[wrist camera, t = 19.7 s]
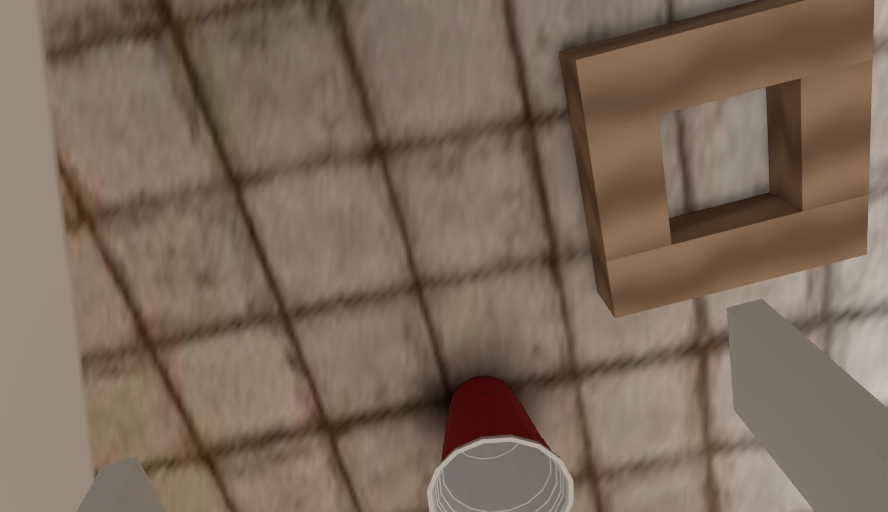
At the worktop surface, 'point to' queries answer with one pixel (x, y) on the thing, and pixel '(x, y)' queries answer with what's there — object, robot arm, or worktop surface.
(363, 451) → the worktop surface
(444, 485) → the plastic cup
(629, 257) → the walnut frame
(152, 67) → the worktop surface
